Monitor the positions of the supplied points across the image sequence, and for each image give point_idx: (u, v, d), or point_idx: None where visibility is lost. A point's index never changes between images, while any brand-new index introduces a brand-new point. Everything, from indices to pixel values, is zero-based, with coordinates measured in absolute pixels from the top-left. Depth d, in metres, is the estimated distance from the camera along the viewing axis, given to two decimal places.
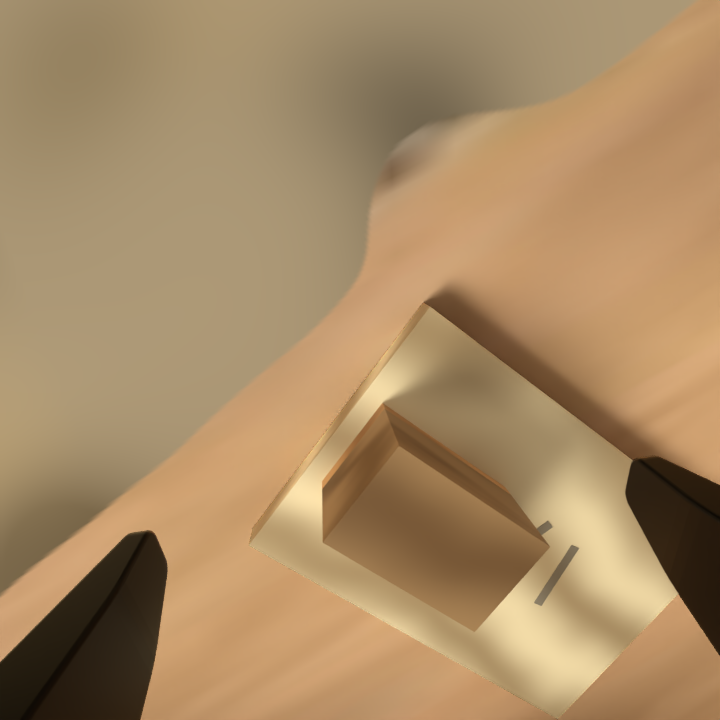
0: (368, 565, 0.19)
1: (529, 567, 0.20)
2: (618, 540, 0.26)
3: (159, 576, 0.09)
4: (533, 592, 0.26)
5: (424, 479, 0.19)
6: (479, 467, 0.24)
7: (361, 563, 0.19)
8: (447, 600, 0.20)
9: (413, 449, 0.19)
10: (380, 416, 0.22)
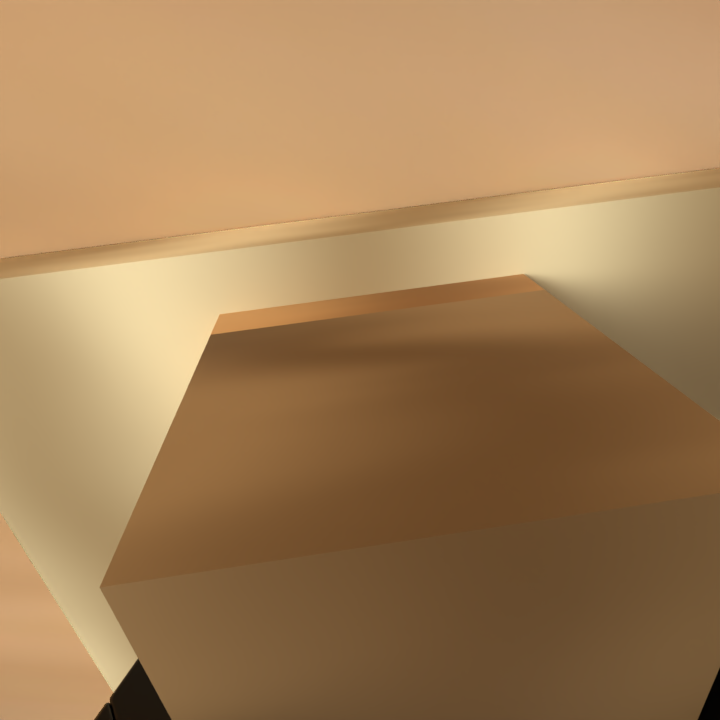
0: None
1: None
2: None
3: None
4: None
5: (676, 635, 0.04)
6: None
7: None
8: None
9: None
10: (527, 298, 0.07)
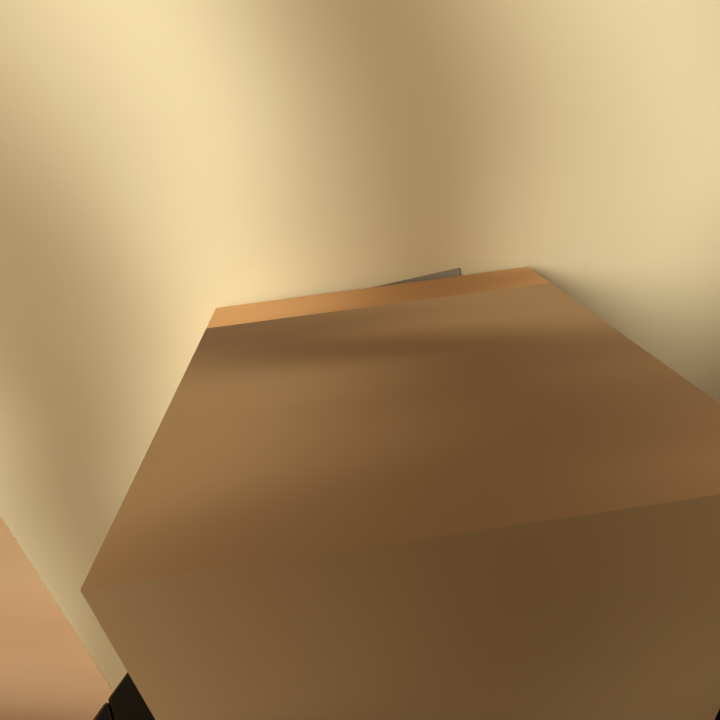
0: None
1: None
2: None
3: None
4: None
5: (691, 641, 0.04)
6: (530, 166, 0.07)
7: None
8: None
9: None
10: (532, 291, 0.07)
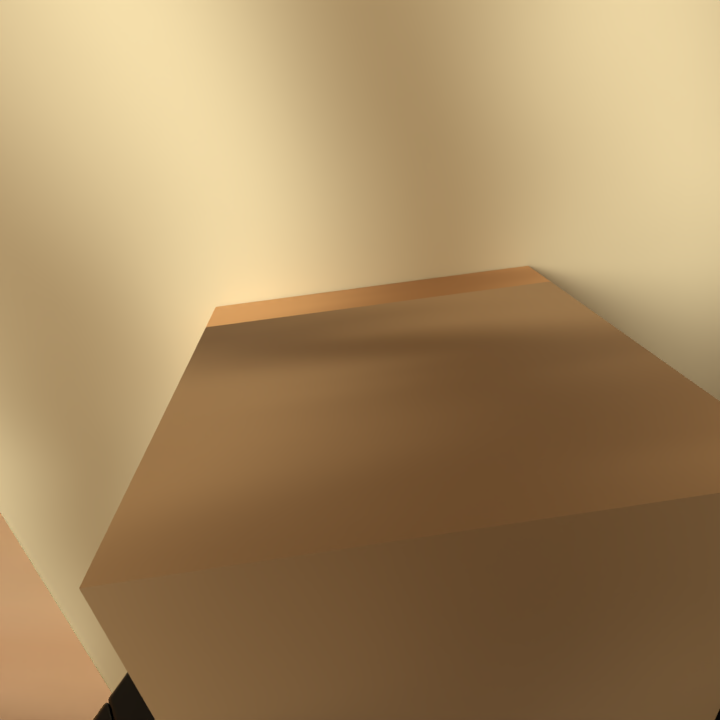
0: None
1: None
2: None
3: None
4: None
5: (692, 639, 0.04)
6: (540, 239, 0.08)
7: None
8: None
9: None
10: (532, 290, 0.07)
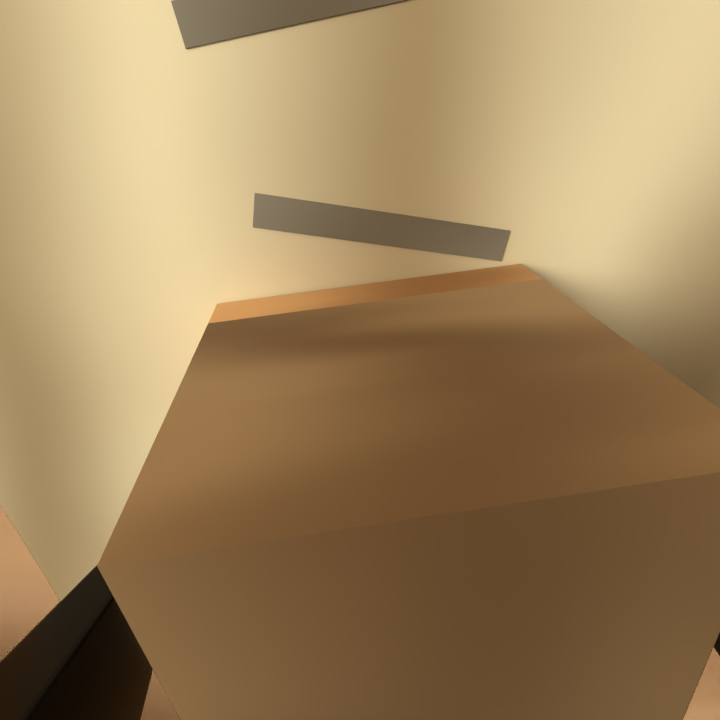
0: None
1: None
2: None
3: None
4: None
5: (670, 616, 0.04)
6: None
7: (183, 704, 0.04)
8: None
9: None
10: (524, 287, 0.07)
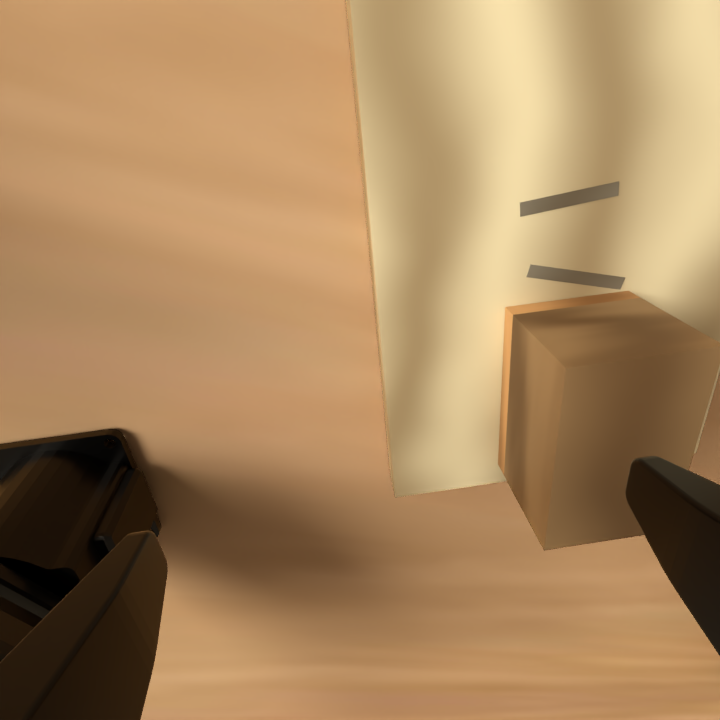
0: (564, 425, 0.15)
1: (637, 534, 0.18)
2: None
3: (159, 576, 0.09)
4: None
5: (694, 394, 0.15)
6: (656, 134, 0.16)
7: (561, 418, 0.15)
8: (565, 509, 0.17)
9: None
10: (635, 301, 0.18)
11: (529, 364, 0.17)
